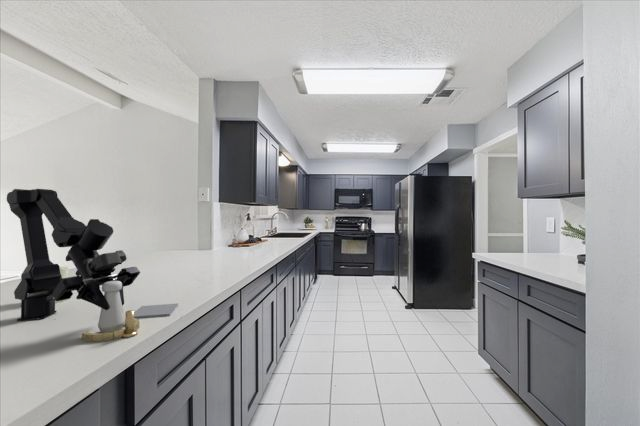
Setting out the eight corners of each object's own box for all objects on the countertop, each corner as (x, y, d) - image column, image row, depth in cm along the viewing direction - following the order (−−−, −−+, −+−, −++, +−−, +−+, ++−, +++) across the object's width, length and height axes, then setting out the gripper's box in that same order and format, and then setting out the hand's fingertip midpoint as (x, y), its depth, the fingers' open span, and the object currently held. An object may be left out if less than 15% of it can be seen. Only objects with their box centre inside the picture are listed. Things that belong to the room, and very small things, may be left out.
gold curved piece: (80, 339, 69) (80, 314, 70) (129, 322, 81) (129, 301, 81) (108, 346, 66) (109, 320, 66) (155, 327, 77) (155, 305, 77)
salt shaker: (130, 327, 77) (131, 279, 77) (113, 336, 71) (113, 284, 72) (110, 327, 78) (111, 279, 78) (91, 335, 72) (92, 283, 72)
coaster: (128, 319, 84) (128, 317, 84) (141, 307, 94) (141, 305, 94) (169, 315, 86) (169, 313, 86) (178, 305, 97) (178, 303, 97)
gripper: (60, 244, 68) (90, 295, 63) (136, 239, 85) (163, 279, 81) (40, 275, 70) (67, 327, 66) (117, 264, 88) (143, 304, 83)
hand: (115, 306), depth 74 cm, fingers closed on salt shaker, 3 cm apart
